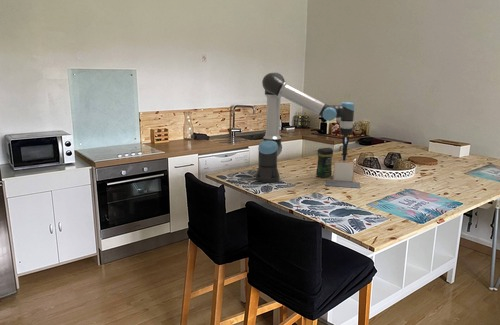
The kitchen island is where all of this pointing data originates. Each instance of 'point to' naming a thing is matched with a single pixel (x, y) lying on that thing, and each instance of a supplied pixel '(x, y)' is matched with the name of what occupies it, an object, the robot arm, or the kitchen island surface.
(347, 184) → the mat
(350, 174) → the tile
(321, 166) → the coffee jar
